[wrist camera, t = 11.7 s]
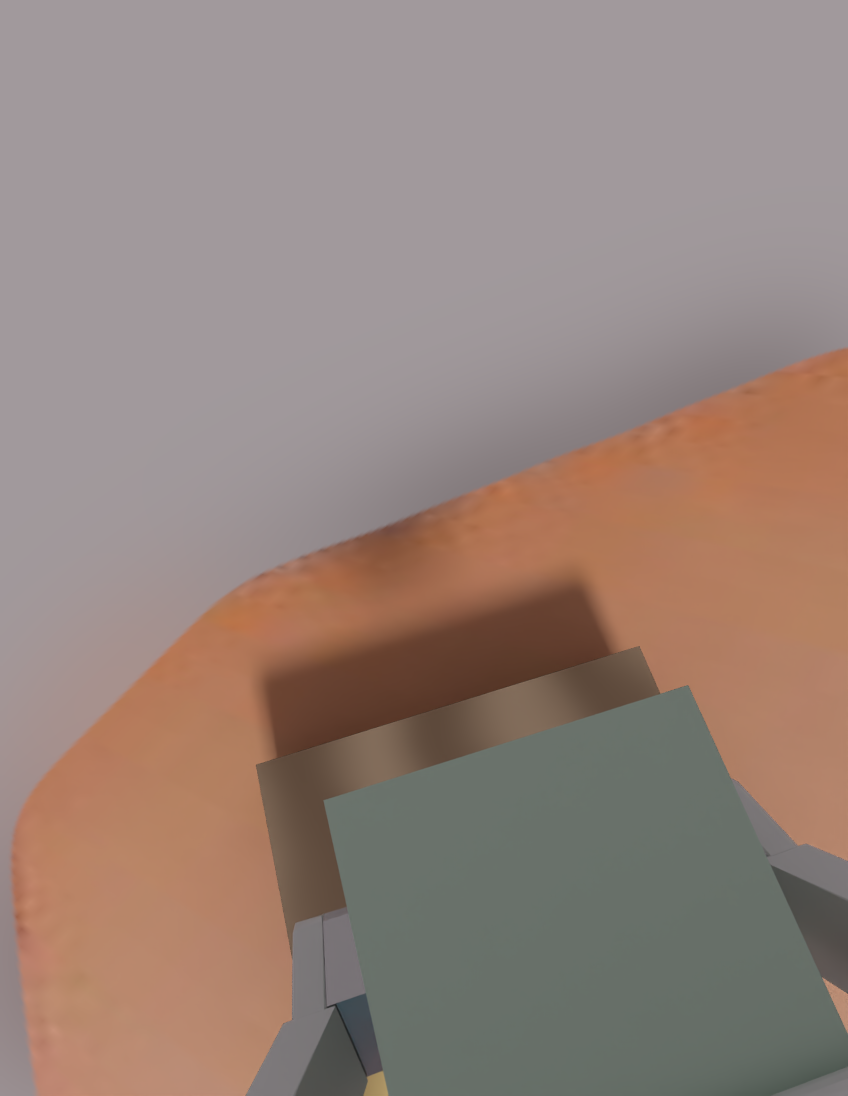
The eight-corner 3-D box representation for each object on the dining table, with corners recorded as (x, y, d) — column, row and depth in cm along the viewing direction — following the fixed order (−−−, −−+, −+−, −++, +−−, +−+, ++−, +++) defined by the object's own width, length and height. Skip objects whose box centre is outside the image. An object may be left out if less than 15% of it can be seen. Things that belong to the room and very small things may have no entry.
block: (561, 755, 18) (688, 684, 9) (636, 958, 16) (898, 1146, 7) (386, 811, 17) (323, 799, 8) (441, 1026, 16) (439, 1328, 6)
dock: (616, 665, 32) (641, 644, 28) (730, 936, 27) (778, 956, 23) (278, 771, 30) (253, 764, 27) (339, 1074, 26) (320, 1120, 22)
